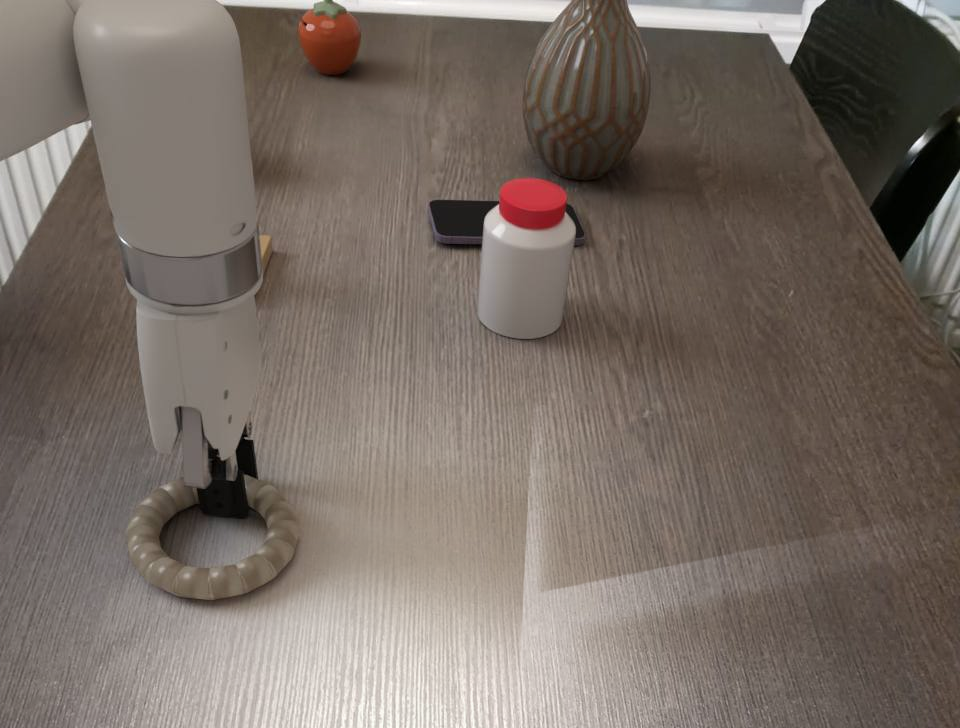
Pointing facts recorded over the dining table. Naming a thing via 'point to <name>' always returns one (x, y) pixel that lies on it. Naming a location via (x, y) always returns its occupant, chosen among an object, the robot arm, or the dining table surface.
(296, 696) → the dining table surface
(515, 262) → the pill bottle
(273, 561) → the ring
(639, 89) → the vase
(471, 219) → the smartphone
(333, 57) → the tomato
